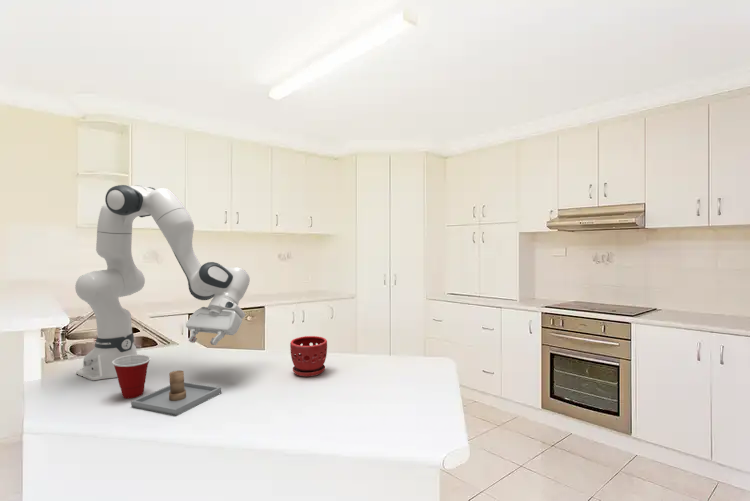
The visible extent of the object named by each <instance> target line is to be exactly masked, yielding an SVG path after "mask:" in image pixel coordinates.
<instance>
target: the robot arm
mask: <svg viewBox="0 0 750 501" xmlns="http://www.w3.org/2000/svg"><path fill="white" fill-rule="evenodd" d="M104 198H105V203H104V204H103V205H102V206H101V208H100V211H99V215H98V219H97V225H96V226H97V227H96V228H97V229H96V247H95V248H96V249H95V251H96V253H97V255H98V256H99V257H101V258H103V259H104V260H105V263H106V265H107V266H106V267H107V269H100V270H93V271H90V272H87V273H85V274H82V275H80V276H79V277H78V278H77V280H76V281H75V287H74V288H75V293H76V295H77V296H78V297H79V299H80V300H82V301H84V302H85V303H87V305H89V307H90V308H91V310H92V312H93V314H94V316H95V322H96V331H97V337H94V338H93V342H95V344H94V347H93V349H91V351H89V352H88V353H87V354H86V355H85V356H84V358H83V361H82V365H83V367H82V368H79V369H78V370H75V371H76V372H75V375H77V374H78V376H81V377H82V376H83V378H85V379H88V380H90V381H99V380H104V379H112V378H113V379H114V378H118V377H117V373H116V370H115V367H114V365H113V363H112V362H113V360H115V359H116V358H119V357H123V356H128V355H138V352H137V347H136V345H135V344H134V342H135V335H134V332H133V328H132V327H133V325H132V315H131V312H130V310H128V309H126V308H124V307H123V306H122V305H121V302H120V299H119V298H123V297H128V296H131V295H133V294H136V293H138V292H140V291H141V290H143V289H144V286H145V282H146V279H145V275H144V273H143V272H142V271H141V270H140V269H139V268H138V267H137V265H136V264H135V261H134V258H133V254H132V253H133V252H132V240H133V239H132V238H133V222H134V220H135V219H136V218H137V217H139V218H145V217H150V216H151V217H152V219H153V220H154V223H155V224H156V225H157V227H158V229H159V230H160V231H161V233H162V234H163V237H164V238H165V239H166V241H167V243H168V245H169V246H170V249H171V250H172V253H173V254H174V256H175V258H176V261H177V262H178V263H179V266H180V268H181V269H182V271H183V273H184V275H185V277H186V280H187V286H188V290H189V293H190V295H192V297H194V299H195V300H196V299H197V300H200V301H209V300H211V301H210V302H209V304H208V306H202V307H200V308H197V309H196V310H195V311H193V313H192V314H191V315H190V317H189V318H188V320H186V322H185V327H186V328H187V330H189V331H190V336H189V338H188V342H190V343H193V344H195V343H196V342H197V340H198V338H197V335H198V334H199V333H205V334H216V336H214V337H212V338H211V340H210V342H209V343H210V344H211V345H212V346H217V344H218V343H219V342H220V341H221V340H222V339H223V338H224V337H225V336H226V335H227V336H234V335H235V334H237V332H238V331H239V329H240V327H241V325H242V323H243V319H245V317H246V313H245V312H244V310H243V309H242V308H241V307H240V306H239V303H240V301H241V300H242V299H243V298H244V295H245V294H246V293H247V289H248V287H249V285H250V278H251V277H250V275H249V273H248V272H247V271H246V270H245V269H243V268H241V267H239V266H234V267H231V266H225V265H222V264H220V263H219V262H214V261H208V262H205V263H203V264H201V262H200V261H199V259H198V258H197V257H198V256H196V254H195V252H194V248H193V238H194V236H193V235H194V230H195V225H194V222H193V220H192V217H191V215H190V213H189V212H188V210H187V208H186V207H185V206H184V204H183V203H182V202H181V200H180V199H179V198H178V197H177V195H176V194H174V193H173V192H172V191H171V190H170V189H169V188H166V187H160V188H159V187H158V188H155V187H151V186H149V187H148V186H145V185H137V184H135V185H129V184H128V185H126V184H118V185H114V186H112V187H111V188H109V189H108V190H107V191H106V193H105V197H104Z"/></svg>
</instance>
